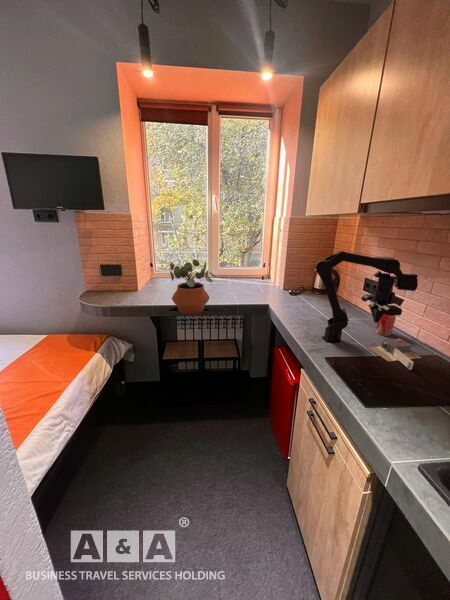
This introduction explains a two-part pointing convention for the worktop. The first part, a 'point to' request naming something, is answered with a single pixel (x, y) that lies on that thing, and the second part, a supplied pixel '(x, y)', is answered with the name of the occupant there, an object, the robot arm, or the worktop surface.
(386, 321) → the soda can
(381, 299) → the robot arm
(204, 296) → the potted plant
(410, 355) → the board
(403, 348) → the camera body
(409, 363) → the cream rectangular bar
